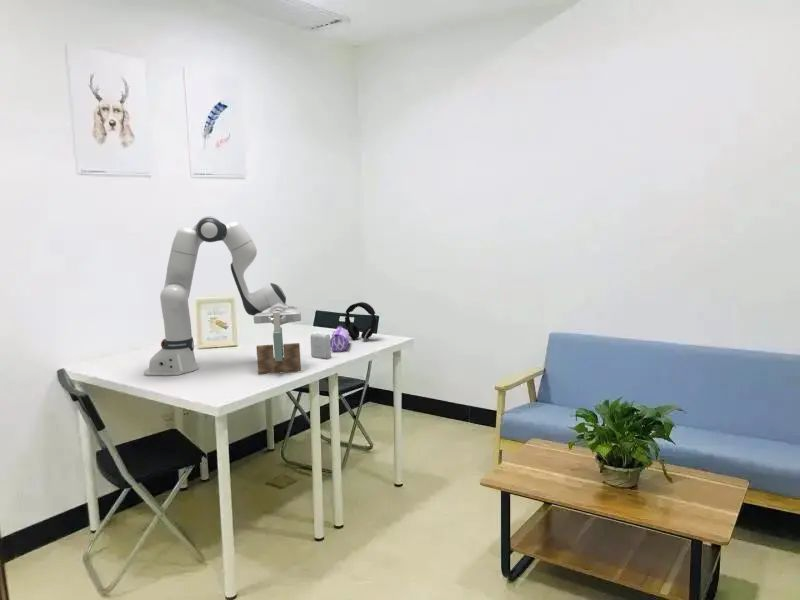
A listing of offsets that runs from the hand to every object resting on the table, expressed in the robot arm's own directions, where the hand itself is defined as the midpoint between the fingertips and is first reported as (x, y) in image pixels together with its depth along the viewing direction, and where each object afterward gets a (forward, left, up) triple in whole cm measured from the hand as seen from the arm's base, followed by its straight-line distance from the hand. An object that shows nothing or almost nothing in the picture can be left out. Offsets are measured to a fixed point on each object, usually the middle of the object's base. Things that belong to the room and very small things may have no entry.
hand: (276, 320), depth 263 cm
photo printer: (+18, +24, -23) cm, 38 cm away
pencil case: (+28, +42, -23) cm, 55 cm away
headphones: (+39, +57, -23) cm, 73 cm away
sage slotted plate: (0, +1, -16) cm, 17 cm away
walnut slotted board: (0, +1, -23) cm, 23 cm away
